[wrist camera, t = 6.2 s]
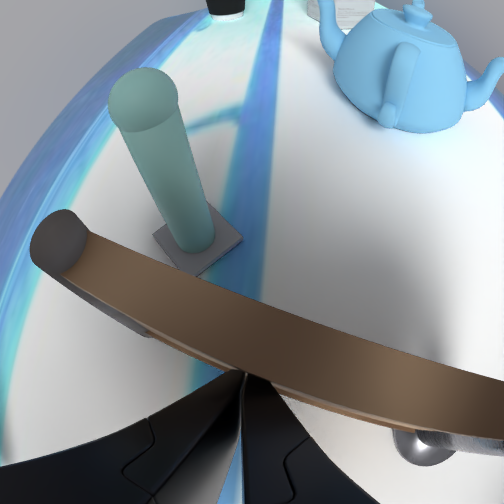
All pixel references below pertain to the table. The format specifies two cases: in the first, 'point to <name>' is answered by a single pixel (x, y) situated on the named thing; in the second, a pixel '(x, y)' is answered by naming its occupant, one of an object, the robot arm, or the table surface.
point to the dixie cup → (226, 9)
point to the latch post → (169, 169)
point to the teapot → (404, 68)
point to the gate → (267, 339)
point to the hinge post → (440, 446)
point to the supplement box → (344, 11)
